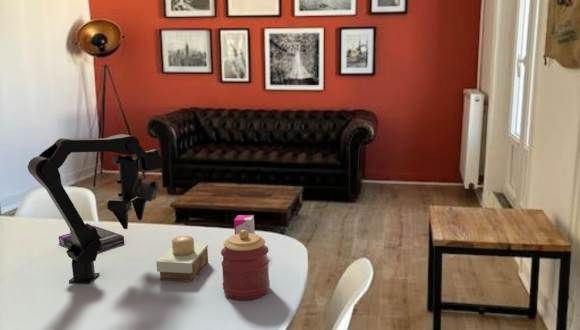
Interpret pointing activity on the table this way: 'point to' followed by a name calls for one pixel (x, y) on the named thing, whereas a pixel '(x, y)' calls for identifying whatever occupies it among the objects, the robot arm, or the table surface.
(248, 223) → the supplement box
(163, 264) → the lid
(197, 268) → the walnut box
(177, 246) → the dome push button
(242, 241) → the canister
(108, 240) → the box
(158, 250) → the table surface
